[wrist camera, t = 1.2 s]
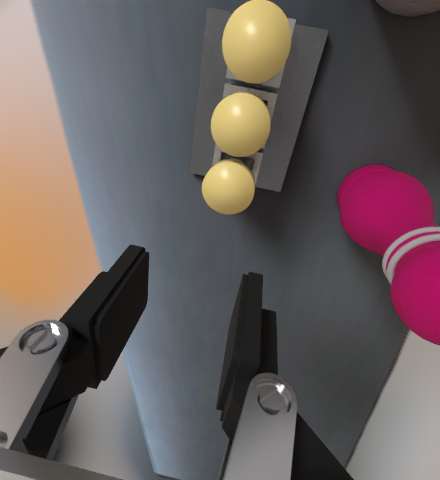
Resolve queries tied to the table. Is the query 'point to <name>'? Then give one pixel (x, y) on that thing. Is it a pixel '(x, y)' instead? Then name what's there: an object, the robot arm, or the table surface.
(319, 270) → the table surface
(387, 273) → the pepper mill
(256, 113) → the knob
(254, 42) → the knob
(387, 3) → the pillar candle
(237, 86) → the mount plate
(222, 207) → the knob
